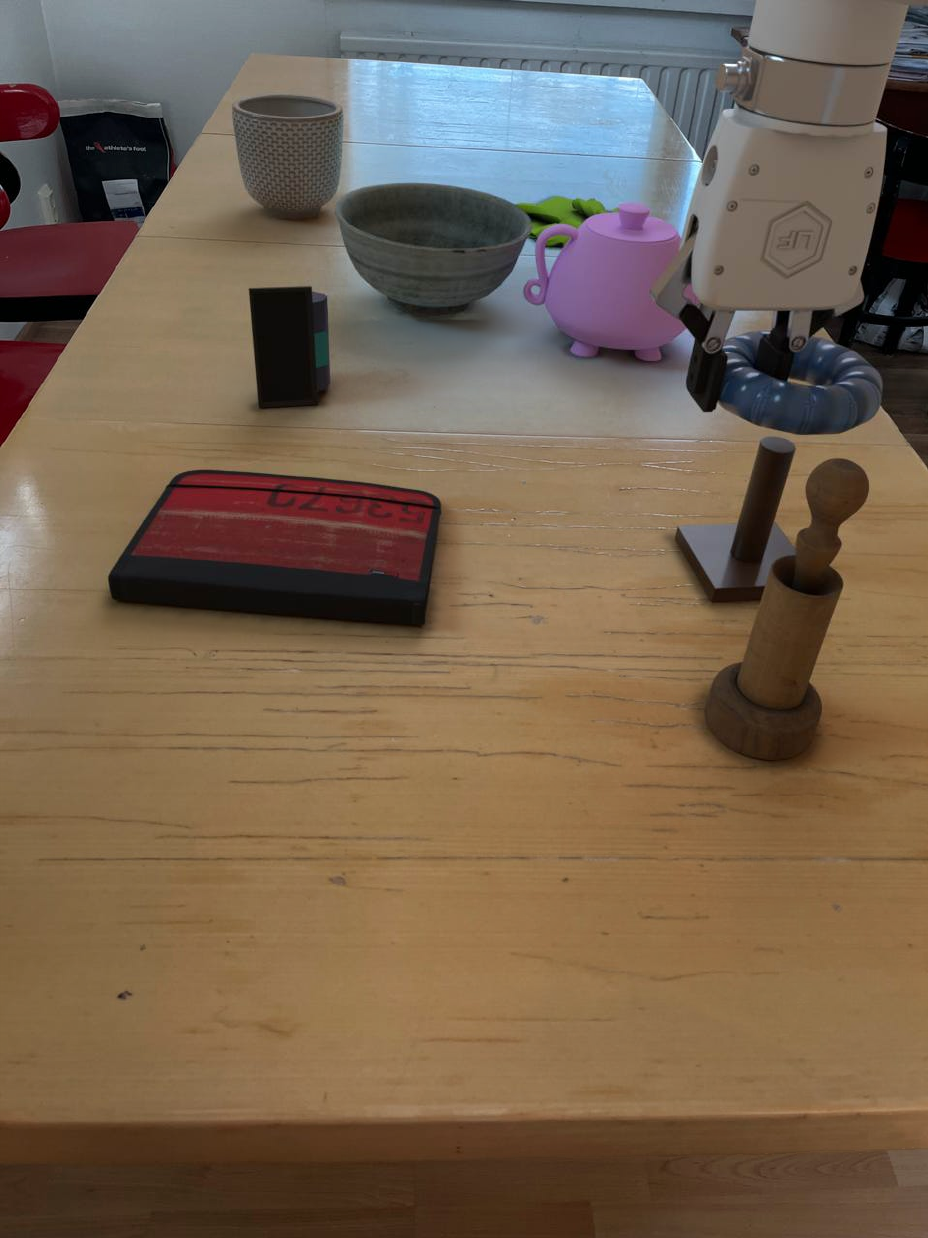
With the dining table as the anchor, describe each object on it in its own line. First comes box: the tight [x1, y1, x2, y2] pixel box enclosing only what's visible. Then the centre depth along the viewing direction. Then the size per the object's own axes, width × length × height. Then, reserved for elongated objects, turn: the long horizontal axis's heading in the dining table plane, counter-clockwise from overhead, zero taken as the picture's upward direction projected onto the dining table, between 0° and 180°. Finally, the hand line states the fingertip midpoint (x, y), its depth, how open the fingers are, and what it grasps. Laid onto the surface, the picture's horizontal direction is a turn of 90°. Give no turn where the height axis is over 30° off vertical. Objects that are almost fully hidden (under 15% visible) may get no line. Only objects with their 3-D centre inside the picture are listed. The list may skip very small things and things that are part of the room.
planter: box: [231, 93, 345, 221], centre depth 130 cm, size 14×14×13 cm
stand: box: [674, 435, 797, 603], centre depth 71 cm, size 8×8×10 cm
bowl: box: [333, 182, 532, 318], centre depth 108 cm, size 21×21×10 cm
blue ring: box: [717, 330, 884, 436], centre depth 65 cm, size 11×11×3 cm
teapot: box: [522, 202, 699, 362], centre depth 102 cm, size 22×16×14 cm
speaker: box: [248, 285, 331, 409], centre depth 89 cm, size 8×6×10 cm
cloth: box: [514, 195, 619, 248], centre depth 137 cm, size 20×22×2 cm
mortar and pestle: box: [704, 457, 870, 761], centre depth 56 cm, size 7×6×18 cm
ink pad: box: [107, 469, 442, 627], centre depth 72 cm, size 16×2×21 cm
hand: (731, 399), depth 65 cm, fingers closed on blue ring, 3 cm apart
